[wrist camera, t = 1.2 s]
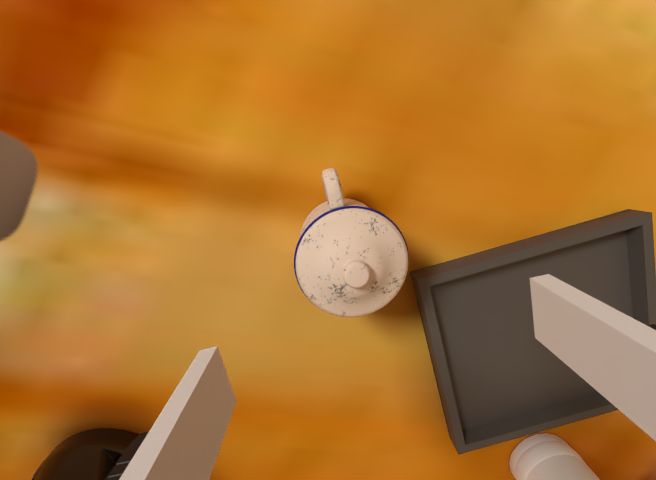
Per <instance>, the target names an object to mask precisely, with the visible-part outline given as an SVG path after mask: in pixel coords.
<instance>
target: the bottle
mask: <svg viewBox="0 0 656 480" xmlns="http://www.w3.org/2000/svg"><path fill="white" fill-rule="evenodd" d="M509 466H510V471H511V473H512V474H513V476H514V477H515V479H516V480H600V479H599V478H598V477H597V475H596V474H595V473H594V472H593V471H592V470H591V469H590V468H589V467H588V466H587V465H586V463H585V462H584V460H583V459H582V458H581V457H580V456H579V454H578V453H577V452H576V451H575V450H574V449H573V448H571V447H570V446H569V445H568V444H567V443H566V442H565V440H563V439H562V438H560V437H559V436H557V435H553V434H549V433H543V434H535V435H532V436H530V437H527V438H525V439H524V440H523V441H521V442H520V443H519V444H518V445H517V446H516V448H515V449H514V450H513V452H512V454H511V457H510V461H509Z"/></svg>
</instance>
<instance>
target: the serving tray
mask: <svg viewBox="0 0 656 480" xmlns="http://www.w3.org/2000/svg"><path fill="white" fill-rule="evenodd" d="M410 273H411V277H412V281H413V285H414V290H415V294H416V298H417V302H418V306H419V310H420V315H421V319H422V323H423V327H424V331H425V336H426V340H427V344H428V348H429V352H430V356H431V361H432V365H433V369H434V373H435V377H436V381H437V386H438V390H439V394H440V398H441V402H442V407H443V411H444V415H445V419H446V423H447V427H448V432H449V436H450V439H451V440H452V442H453V444H454V446H455V448H456V450H457V452H458V454H462V453H466V452H469V451H473V450H476V449H480V448H483V447H487V446H491V445H494V444H498V443H501V442H505V441H508V440H512V439H515V438H519V437H523V436H526V435H530V434H533V433H537V432H540V431H544V430H547V429H551V428H555V427H558V426H562V425H565V424H569V423H572V422H576V421H579V420H583V419H587V418H590V417H594V416H597V415H601V414H604V413H608V412H612V411H615V410H619V409H617V408H616V407H615V406H614V405H613V404H612V403H610V402H609V401H608V400H607V399H606V398H605V397H603V396H602V395H601V394H600V393H599V392H598V391H596V390H595V389H594V388H593V387H592V386H591V385H589V384H588V383H587V382H586V381H585V380H584V379H582V378H581V377H580V376H579V375H578V374H577V373H576V372H574V371H573V370H572V369H571V368H570V367H569V366H567V365H566V364H565V363H564V362H563V361H562V360H560V359H559V358H558V357H557V356H556V355H555V354H553V353H552V352H551V351H550V350H549V349H548V348H546V347H545V346H544V345H543V344H542V343H541V342H539V341H538V340H537V339H536V338H535V332H534V321H533V310H532V299H531V288H530V278H532V277H537V276H541V275H546V274H550V275H552V276H553V277H555V278H557V279H559V280H561V281H563V282H565V283H567V284H569V285H571V286H572V287H574V288H576V289H578V290H580V291H582V292H584V293H586V294H588V295H590V296H592V297H593V298H595V299H597V300H599V301H601V302H603V303H605V304H607V305H609V306H611V307H612V308H614V309H616V310H618V311H620V312H622V313H624V314H626V315H628V316H630V317H632V318H633V319H635V320H637V321H639V322H641V323H643V324H645V325H652V324H655V325H656V275H655V257H654V240H653V223H652V213H651V212H644V211H637V210H631V209H628V210H624V211H621V212H617V213H614V214H611V215H607V216H604V217H600V218H597V219H593V220H590V221H586V222H583V223H579V224H576V225H572V226H569V227H565V228H562V229H559V230H555V231H552V232H548V233H545V234H541V235H538V236H534V237H531V238H527V239H524V240H520V241H517V242H513V243H510V244H506V245H503V246H500V247H496V248H493V249H489V250H486V251H482V252H479V253H475V254H472V255H468V256H465V257H461V258H458V259H454V260H451V261H447V262H444V263H441V264H437V265H434V266H430V267H427V268H423V269H420V270H416V271H413V272H410Z"/></svg>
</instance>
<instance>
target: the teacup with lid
mask: <svg viewBox="0 0 656 480" xmlns="http://www.w3.org/2000/svg"><path fill="white" fill-rule="evenodd" d="M322 180H323V185H324V189H325V194H326V198H327V201H326V202H324V203H322V204H320V205H319V206H317V207H316V208H315V209H314V210H313V211H312V212H311V213H310V214H309V215H308V217H307V218H306V220H305V222H304V224H303V226H302V229H301V234H300V239H299V241H298V244H297V247H296V251H295V256H294V269H295V275H296V278H297V282H298V284H299V286H300V288H301V290H302V291H303V293H304V294H305V296H306V297H307V298H308V299H309V300H310V301H311V302H312V303H313V304H314V305H316V306H317V307H319V308H320V309H322V310H324V311H326V312H328V313H330V314H333V315H337V316H342V317H359V316H364V315H367V314H370V313H373V312H375V311H377V310H379V309H381V308H383V307H384V306H385V305H387V304H388V303H389V302H390V301H391V300H392V299H393V298H394V297H395V296H396V295H397V293H398V292H399V291H400V289H401V287H402V285H403V283H404V281H405V278H406V275H407V271H408V263H409V255H408V249H407V244H406V242H405V239H404V237H403V235H402V233H401V231H400V230H399V228H398V227H397V226H396V225H395V224H394V223H393V221H391V220H390V219H389V218H388V217H386V216H385V215H384V214H382V213H380V212H378V211H376V210H374V209H371V208H370V207H368V206H367V205H365V204H364V203H362V202H360V201H357V200H354V199H348V198H344V197H343V192H342V188H341V184H340V180H339V177H338V174H337V172H336V170H335V169H334V168H329V169H325V170H323V172H322Z"/></svg>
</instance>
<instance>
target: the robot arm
mask: <svg viewBox="0 0 656 480" xmlns="http://www.w3.org/2000/svg"><path fill="white" fill-rule="evenodd" d="M530 288H531V299H532V310H533V321H534V332H535V338H536V339H537V340H538V341H539V342H541V343H542V344H543V345H544V346H545V347H546V348H548V349H549V350H550V351H551V352H552V353H553V354H555V355H556V356H557V357H558V358H559V359H560V360H562V361H563V362H564V363H565V364H566V365H567V366H569V367H570V368H571V369H572V370H573V371H574V372H576V373H577V374H578V375H579V376H580V377H581V378H582V379H584V380H585V381H586V382H587V383H588V384H589V385H591V386H592V387H593V388H594V389H595V390H596V391H598V392H599V393H600V394H601V395H602V396H603V397H605V398H606V399H607V400H608V401H609V402H610V403H612V404H613V405H614V406H615V407H616V408H617V409H619V410H620V411H621V412H622V413H623V414H624V415H626V416H627V417H628V418H629V419H630V420H631V421H633V422H634V423H635V424H636V425H637V426H638V427H640V428H641V429H642V430H643V431H644V432H645V433H647V434H648V435H649V436H650V437H651V438H652V439H654V440H655V441H656V325H655V324H652V325H645V324H643V323H641V322H639V321H637V320H635V319H633V318H632V317H630V316H628V315H626V314H624V313H622V312H620V311H618V310H616V309H614V308H612V307H611V306H609V305H607V304H605V303H603V302H601V301H599V300H597V299H595V298H593V297H592V296H590V295H588V294H586V293H584V292H582V291H580V290H578V289H576V288H574V287H572V286H571V285H569V284H567V283H565V282H563V281H561V280H559V279H557V278H555V277H553V276H552V275H550V274H546V275H541V276H537V277H532V278H530ZM235 404H236V398H235V396H234V393H233V390H232V387H231V384H230V381H229V378H228V376H227V373H226V370H225V367H224V364H223V361H222V358H221V355H220V353H219V350H218V347H212V348H208V349H203V350H200V351H199V352H198V354H197V356H196V357H195V359H194V360H193V362H192V364H191V365H190V367H189V368H188V370H187V372H186V373H185V375H184V376H183V378H182V380H181V381H180V383H179V384H178V386H177V388H176V389H175V391H174V392H173V394H172V396H171V397H170V399H169V400H168V402H167V404H166V405H165V407H164V408H163V410H162V412H161V413H160V415H159V416H158V418H157V420H156V421H155V423H154V425H153V426H152V428H151V429H150V431H149V432H145V433H141V434H140V435H139V436H138V435H136V434H133V433H130V432H126V431H122V430H116V429H94V430H88V431H84V432H81V433H78V434H75V435H73V436H71V437H69V438H67V439H66V440H64V441H63V442H61V443H60V444H59V445H58V446H57V447H56V448H55V449H54V450H53V451H52V452H51V453H50V455H49V456H48V457H47V458H46V459H45V460H44V461H43V463H42V464H41V465H40V466H39V468H38V469H37V471H36V472H35V474H34V476H33V478H32V480H209V479H210V476H211V473H212V470H213V467H214V464H215V461H216V459H217V456H218V453H219V450H220V447H221V444H222V441H223V438H224V435H225V433H226V430H227V427H228V424H229V421H230V418H231V415H232V412H233V409H234V407H235Z"/></svg>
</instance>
